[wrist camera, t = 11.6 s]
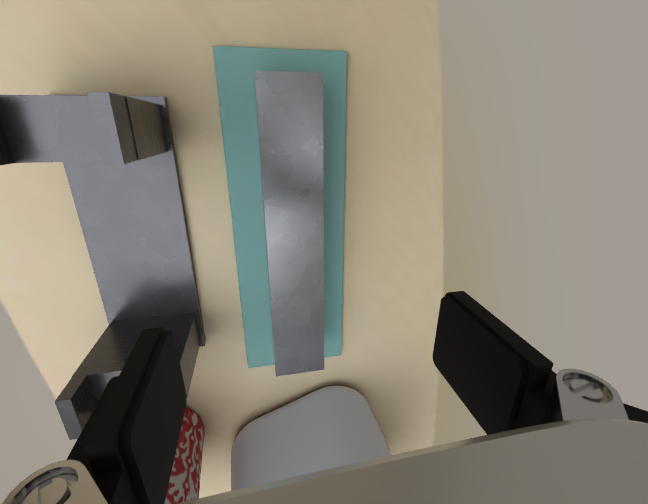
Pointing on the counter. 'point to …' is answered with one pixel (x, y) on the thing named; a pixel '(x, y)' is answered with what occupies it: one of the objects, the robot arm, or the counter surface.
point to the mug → (187, 461)
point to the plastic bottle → (307, 438)
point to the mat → (247, 187)
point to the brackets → (116, 223)
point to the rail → (293, 213)
